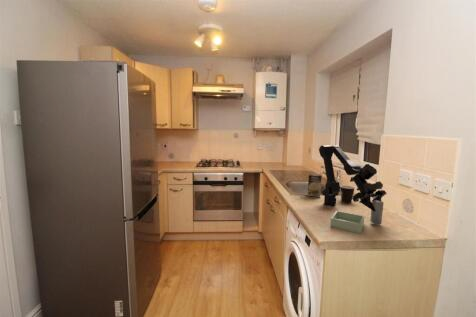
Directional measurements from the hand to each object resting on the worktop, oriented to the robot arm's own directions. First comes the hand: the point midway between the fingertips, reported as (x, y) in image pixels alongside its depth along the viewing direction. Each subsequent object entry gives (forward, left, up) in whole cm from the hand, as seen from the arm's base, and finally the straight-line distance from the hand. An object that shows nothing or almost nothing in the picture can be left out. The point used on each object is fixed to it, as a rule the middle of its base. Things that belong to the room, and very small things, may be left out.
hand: (378, 210), depth 119 cm
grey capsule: (-1, +1, -7) cm, 7 cm away
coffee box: (-42, +35, -8) cm, 55 cm away
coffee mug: (-20, +37, -8) cm, 42 cm away
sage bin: (-13, -9, -8) cm, 18 cm away
